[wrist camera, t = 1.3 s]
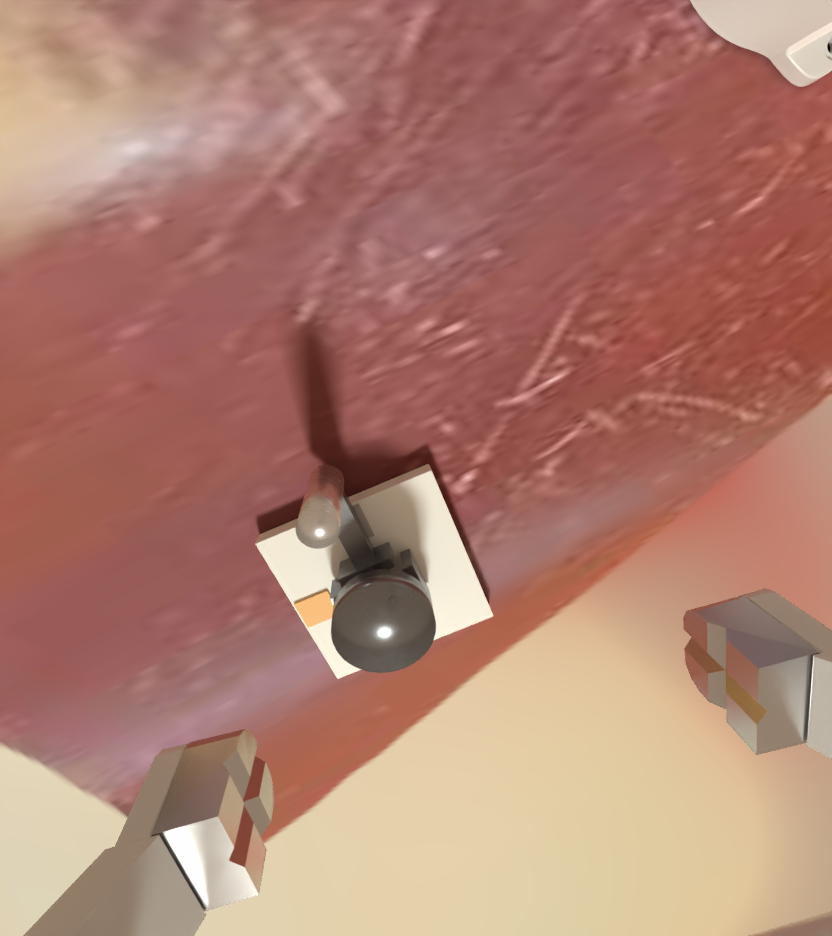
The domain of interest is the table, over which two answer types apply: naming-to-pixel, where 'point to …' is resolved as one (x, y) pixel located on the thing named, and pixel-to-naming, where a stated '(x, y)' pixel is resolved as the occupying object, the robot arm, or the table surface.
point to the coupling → (366, 583)
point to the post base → (405, 527)
